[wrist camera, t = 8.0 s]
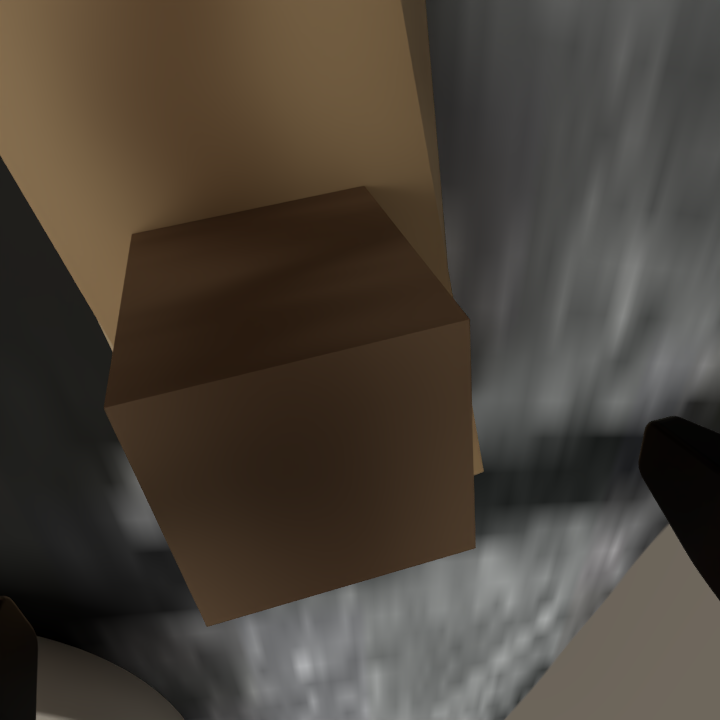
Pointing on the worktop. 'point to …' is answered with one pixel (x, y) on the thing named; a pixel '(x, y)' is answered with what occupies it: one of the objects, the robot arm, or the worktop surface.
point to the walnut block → (293, 400)
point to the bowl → (92, 688)
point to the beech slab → (419, 93)
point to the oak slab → (206, 121)
